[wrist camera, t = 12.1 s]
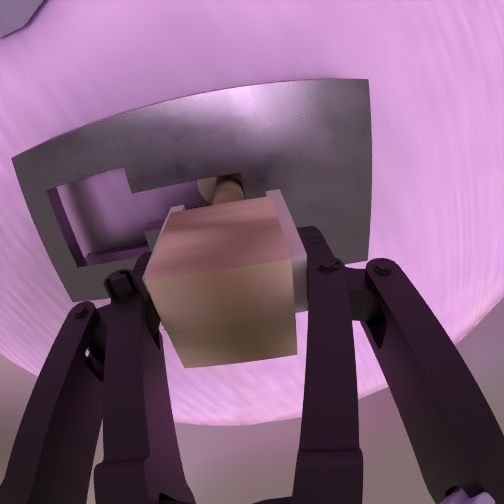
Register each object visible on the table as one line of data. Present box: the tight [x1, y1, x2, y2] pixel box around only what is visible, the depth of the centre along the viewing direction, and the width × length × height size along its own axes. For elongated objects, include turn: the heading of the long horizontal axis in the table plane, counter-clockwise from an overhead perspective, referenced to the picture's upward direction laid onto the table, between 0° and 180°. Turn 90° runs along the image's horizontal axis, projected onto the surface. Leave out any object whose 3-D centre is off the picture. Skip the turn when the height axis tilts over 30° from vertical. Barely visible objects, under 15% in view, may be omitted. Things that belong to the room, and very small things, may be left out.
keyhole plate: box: [11, 79, 372, 302], centre depth 22 cm, size 26×14×6 cm, turn 98°
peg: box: [144, 173, 297, 368], centre depth 17 cm, size 5×5×17 cm
